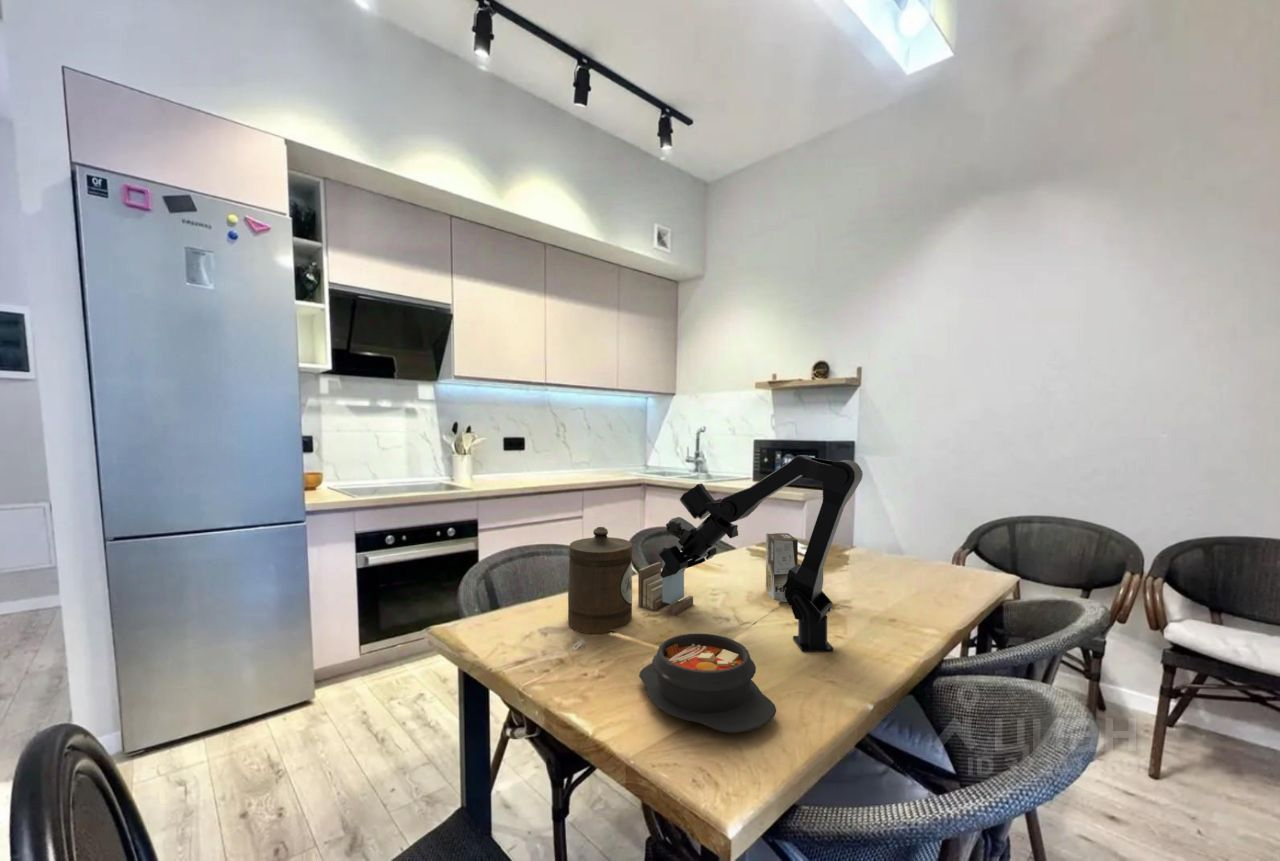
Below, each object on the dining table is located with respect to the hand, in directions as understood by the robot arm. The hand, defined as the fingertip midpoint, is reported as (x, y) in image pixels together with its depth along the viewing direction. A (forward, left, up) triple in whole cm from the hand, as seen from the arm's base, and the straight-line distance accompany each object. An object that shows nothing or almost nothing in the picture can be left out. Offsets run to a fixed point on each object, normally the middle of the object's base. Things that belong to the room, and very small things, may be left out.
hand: (668, 573), depth 126 cm
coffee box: (+9, -31, -9) cm, 33 cm away
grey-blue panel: (-1, -1, -6) cm, 6 cm away
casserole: (-42, -3, -9) cm, 43 cm away
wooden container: (-8, +16, -9) cm, 20 cm away
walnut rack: (0, 0, -9) cm, 9 cm away
